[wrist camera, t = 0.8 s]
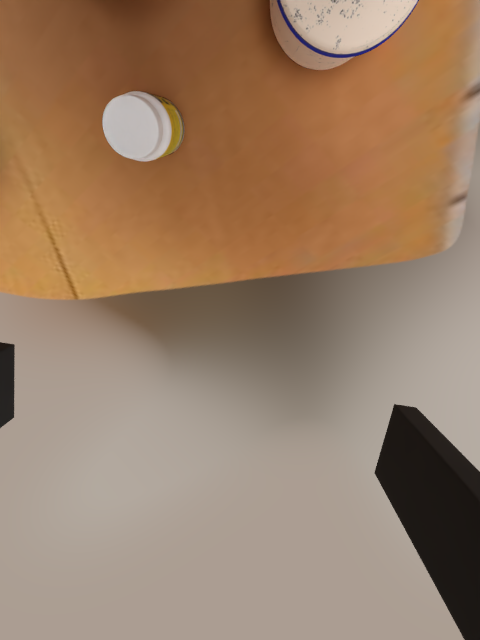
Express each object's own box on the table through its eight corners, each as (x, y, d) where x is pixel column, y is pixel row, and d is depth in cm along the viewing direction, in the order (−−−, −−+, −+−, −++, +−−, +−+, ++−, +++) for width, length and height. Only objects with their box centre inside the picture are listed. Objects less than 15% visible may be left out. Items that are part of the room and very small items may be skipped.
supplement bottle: (181, 95, 30) (159, 86, 23) (187, 154, 32) (169, 164, 25) (127, 97, 30) (88, 89, 23) (137, 156, 33) (104, 166, 25)
